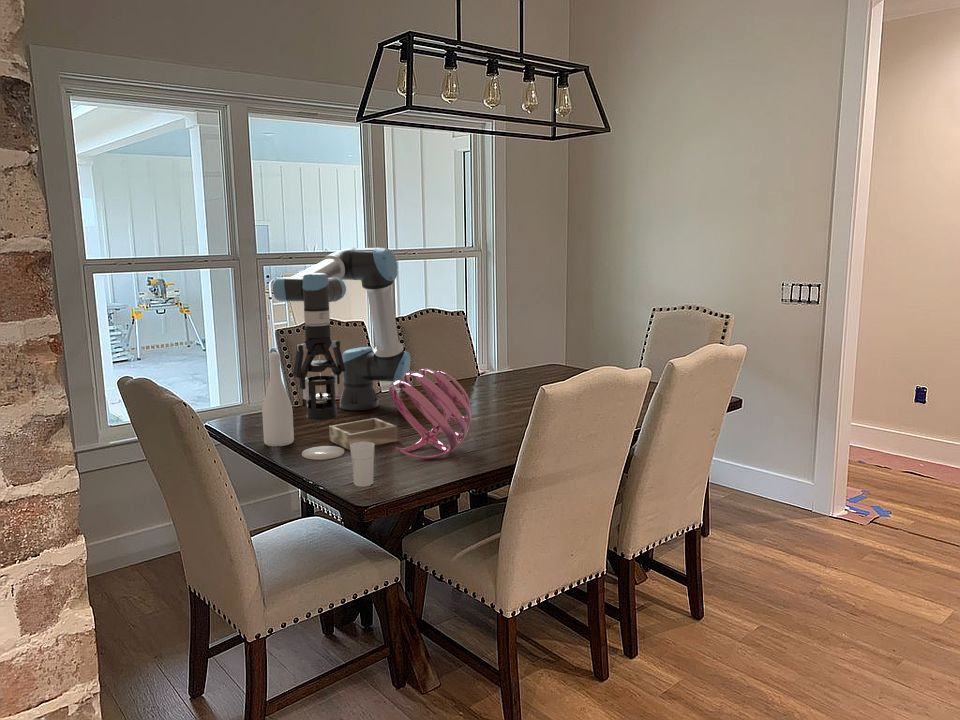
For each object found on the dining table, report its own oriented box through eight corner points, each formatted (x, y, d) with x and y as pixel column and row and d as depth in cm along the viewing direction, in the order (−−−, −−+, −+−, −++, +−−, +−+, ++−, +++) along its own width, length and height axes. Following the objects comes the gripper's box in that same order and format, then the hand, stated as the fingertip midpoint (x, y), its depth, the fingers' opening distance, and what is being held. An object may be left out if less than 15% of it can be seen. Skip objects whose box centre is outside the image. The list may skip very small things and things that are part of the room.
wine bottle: (269, 439, 255) (264, 350, 250) (297, 439, 254) (292, 350, 249) (260, 447, 245) (254, 355, 240) (289, 447, 245) (284, 355, 240)
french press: (345, 414, 238) (342, 341, 234) (328, 421, 229) (325, 345, 225) (312, 411, 242) (309, 339, 238) (295, 418, 233) (292, 344, 229)
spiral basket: (375, 407, 215) (444, 346, 224) (352, 410, 240) (414, 355, 250) (437, 480, 220) (501, 418, 229) (408, 475, 245) (467, 419, 255)
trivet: (295, 452, 239) (294, 450, 239) (332, 445, 247) (332, 443, 247) (313, 462, 229) (313, 460, 229) (351, 454, 237) (351, 452, 237)
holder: (329, 440, 252) (329, 426, 252) (375, 431, 263) (375, 417, 262) (350, 450, 241) (349, 435, 240) (397, 440, 252) (397, 426, 251)
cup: (362, 489, 205) (360, 449, 203) (346, 484, 209) (345, 445, 208) (380, 483, 210) (379, 444, 208) (365, 478, 214) (363, 440, 212)
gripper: (288, 328, 221) (292, 404, 225) (355, 322, 234) (357, 394, 238) (278, 326, 227) (282, 399, 231) (343, 320, 240) (346, 390, 244)
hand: (320, 397), depth 235 cm, fingers closed on french press, 9 cm apart
